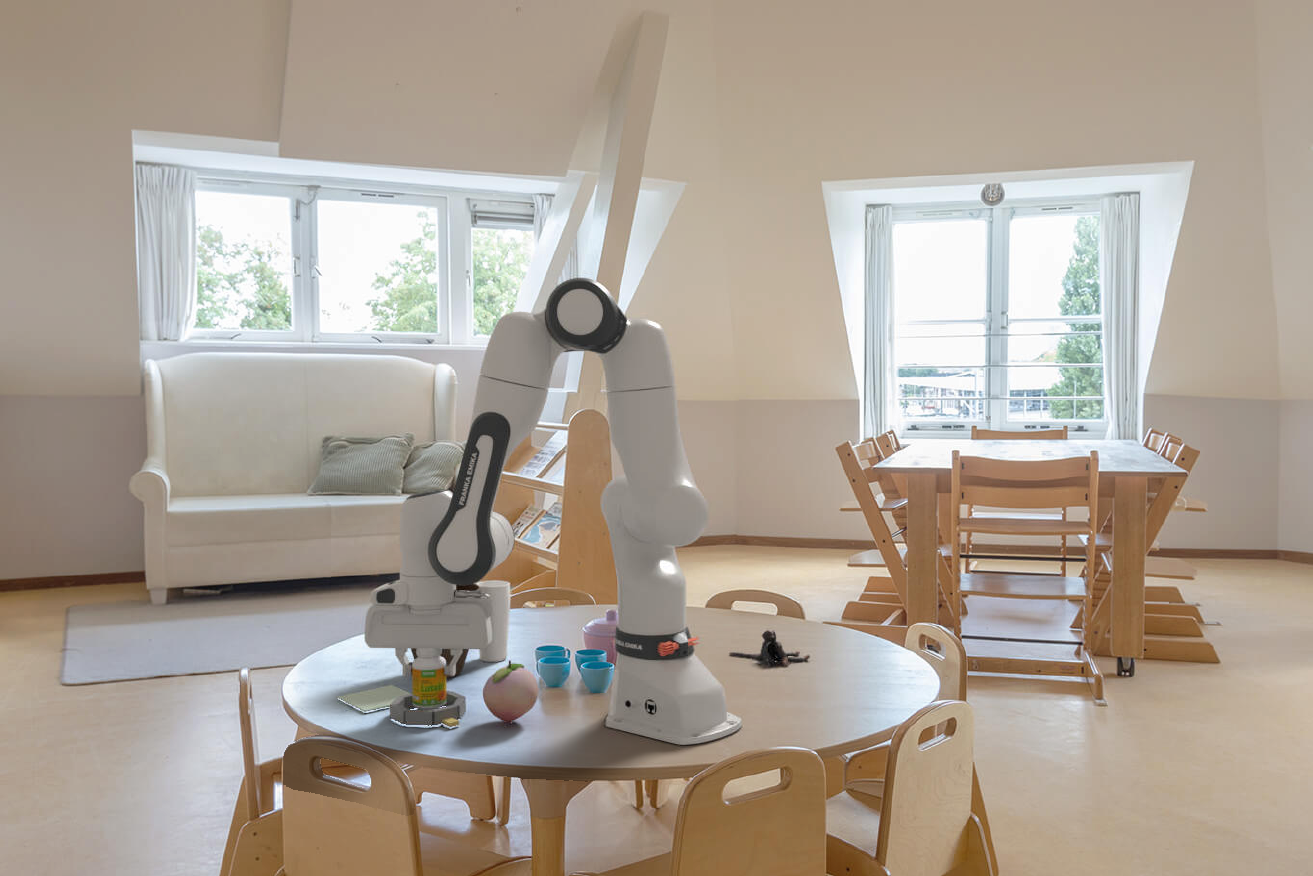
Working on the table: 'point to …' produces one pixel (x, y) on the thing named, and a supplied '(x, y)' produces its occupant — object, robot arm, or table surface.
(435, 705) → the supplement bottle
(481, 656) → the drinking glass
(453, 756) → the table surface
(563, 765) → the table surface
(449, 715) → the collar
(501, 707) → the decorative fruit
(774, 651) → the stuffed animal
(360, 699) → the mat
